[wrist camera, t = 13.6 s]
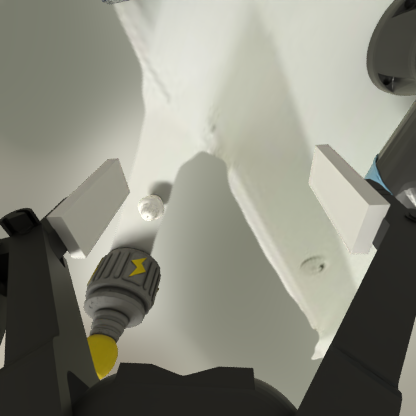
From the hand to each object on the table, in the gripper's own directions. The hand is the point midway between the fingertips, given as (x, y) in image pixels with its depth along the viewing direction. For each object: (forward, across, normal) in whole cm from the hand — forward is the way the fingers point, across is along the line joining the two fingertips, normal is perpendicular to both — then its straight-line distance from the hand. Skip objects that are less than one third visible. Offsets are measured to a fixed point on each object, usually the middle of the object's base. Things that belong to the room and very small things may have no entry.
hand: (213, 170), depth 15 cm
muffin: (+31, +18, +22) cm, 42 cm away
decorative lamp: (+31, +31, +47) cm, 64 cm away
